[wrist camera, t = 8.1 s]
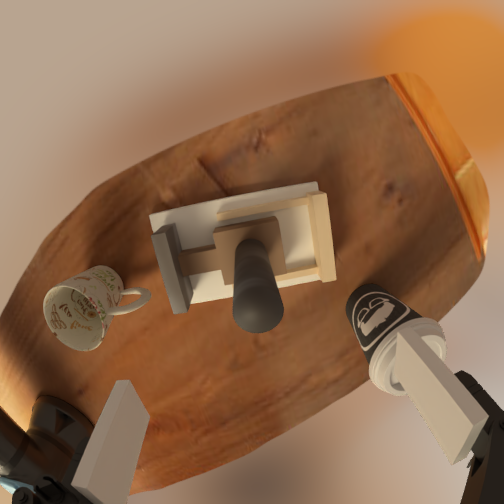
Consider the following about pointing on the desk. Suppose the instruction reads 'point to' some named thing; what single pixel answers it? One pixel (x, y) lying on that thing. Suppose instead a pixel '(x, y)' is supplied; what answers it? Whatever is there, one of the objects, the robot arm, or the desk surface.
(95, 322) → the mug
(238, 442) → the desk surface
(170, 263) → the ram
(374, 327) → the coffee cup
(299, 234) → the white slotted peg base
